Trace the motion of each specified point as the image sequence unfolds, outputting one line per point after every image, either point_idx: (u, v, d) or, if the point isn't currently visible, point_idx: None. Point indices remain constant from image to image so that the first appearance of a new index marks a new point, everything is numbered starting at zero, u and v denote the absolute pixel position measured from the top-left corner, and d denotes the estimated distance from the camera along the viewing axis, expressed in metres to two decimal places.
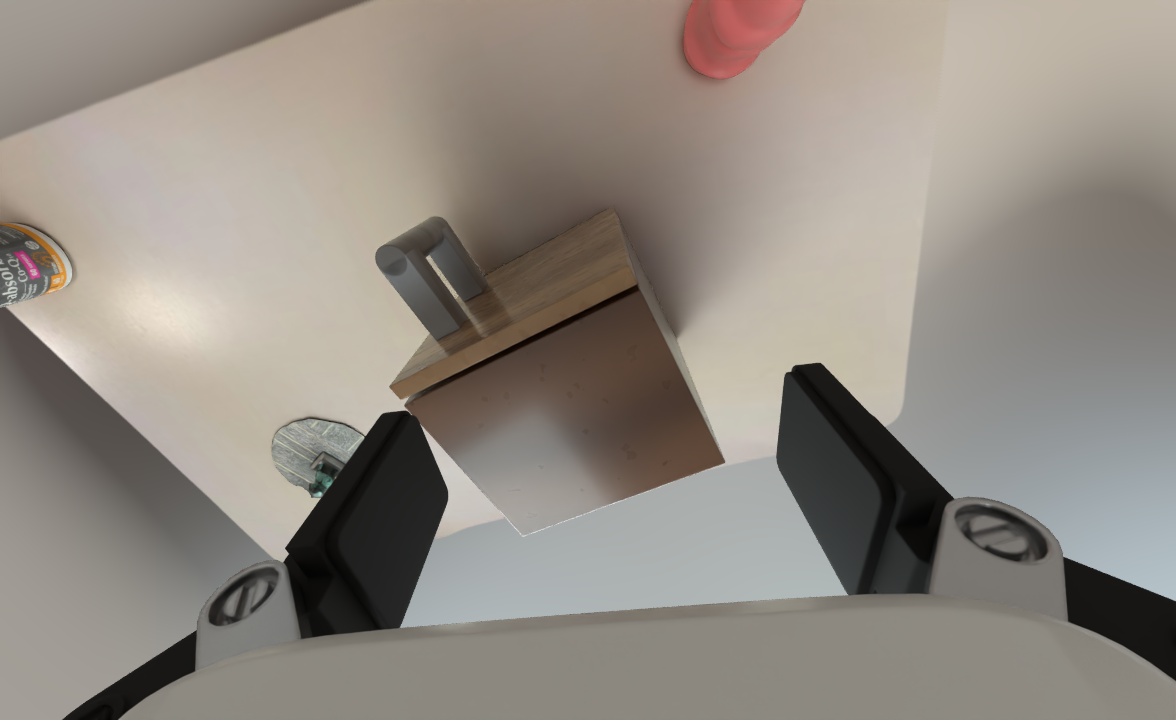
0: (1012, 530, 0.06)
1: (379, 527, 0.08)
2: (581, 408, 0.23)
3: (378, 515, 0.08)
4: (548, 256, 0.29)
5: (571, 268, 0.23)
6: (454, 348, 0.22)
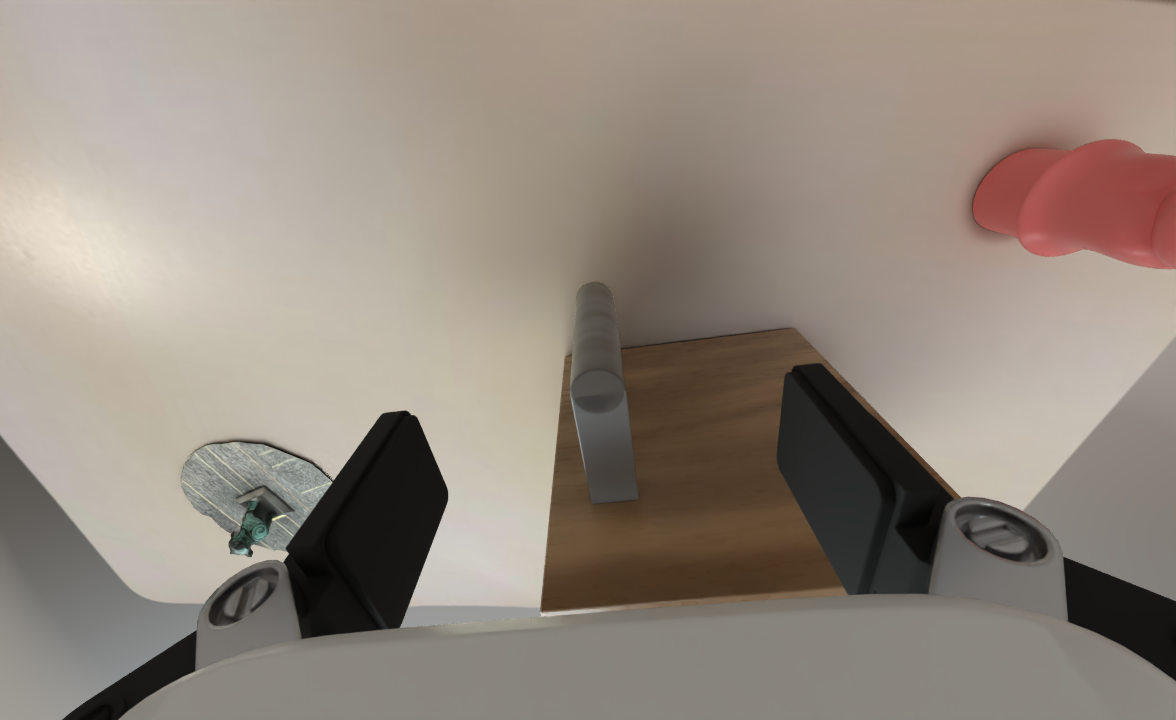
0: (1012, 530, 0.06)
1: (379, 527, 0.08)
2: None
3: (378, 515, 0.08)
4: (733, 388, 0.21)
5: None
6: (669, 576, 0.13)
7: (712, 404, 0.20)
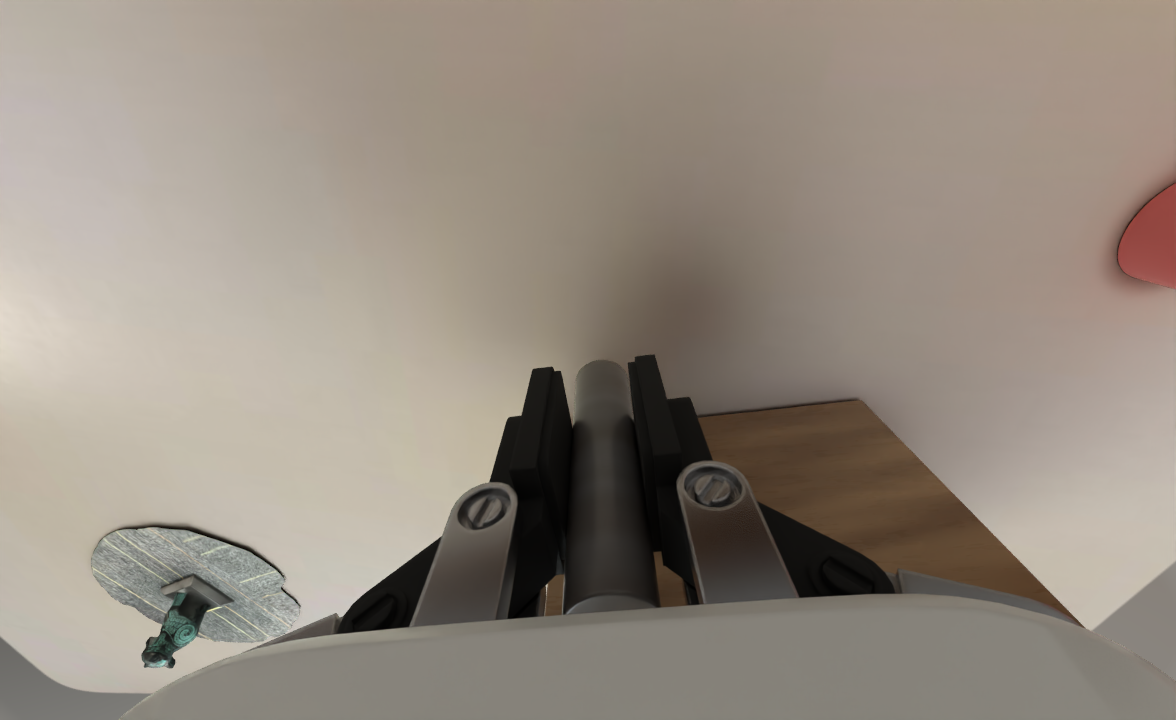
0: (718, 479, 0.07)
1: (559, 463, 0.09)
2: None
3: (558, 452, 0.09)
4: (794, 503, 0.15)
5: None
6: None
7: None
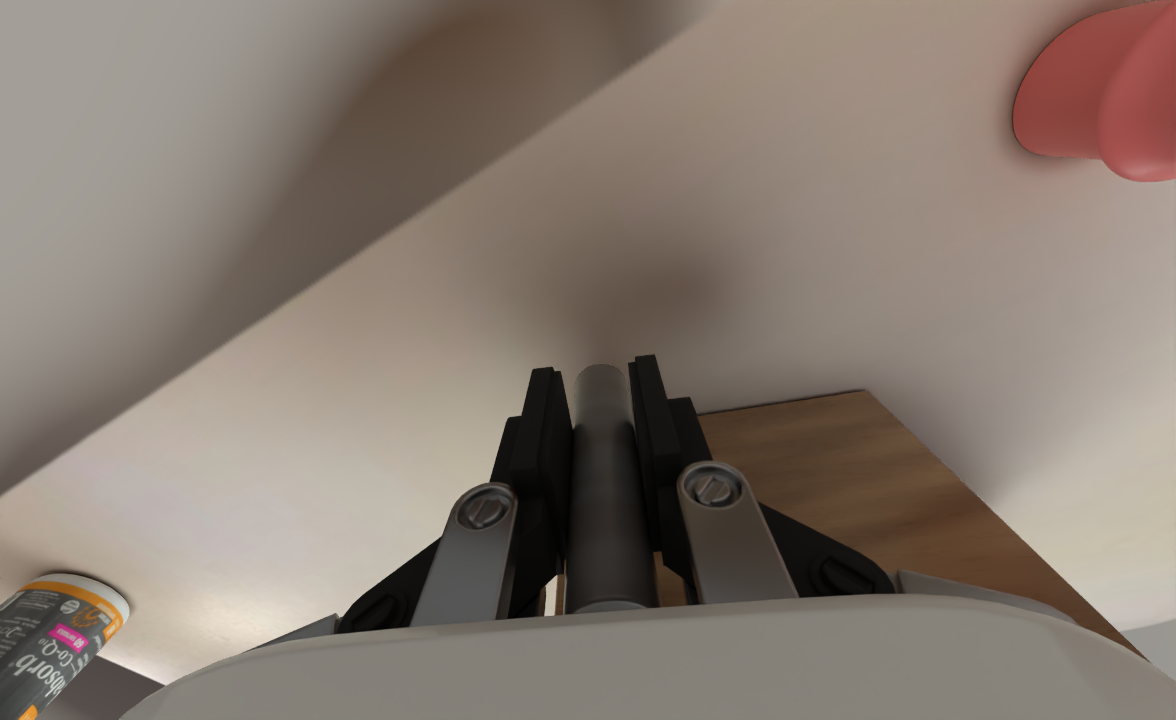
0: (718, 479, 0.07)
1: (559, 463, 0.09)
2: None
3: (557, 452, 0.09)
4: (801, 498, 0.15)
5: None
6: None
7: None
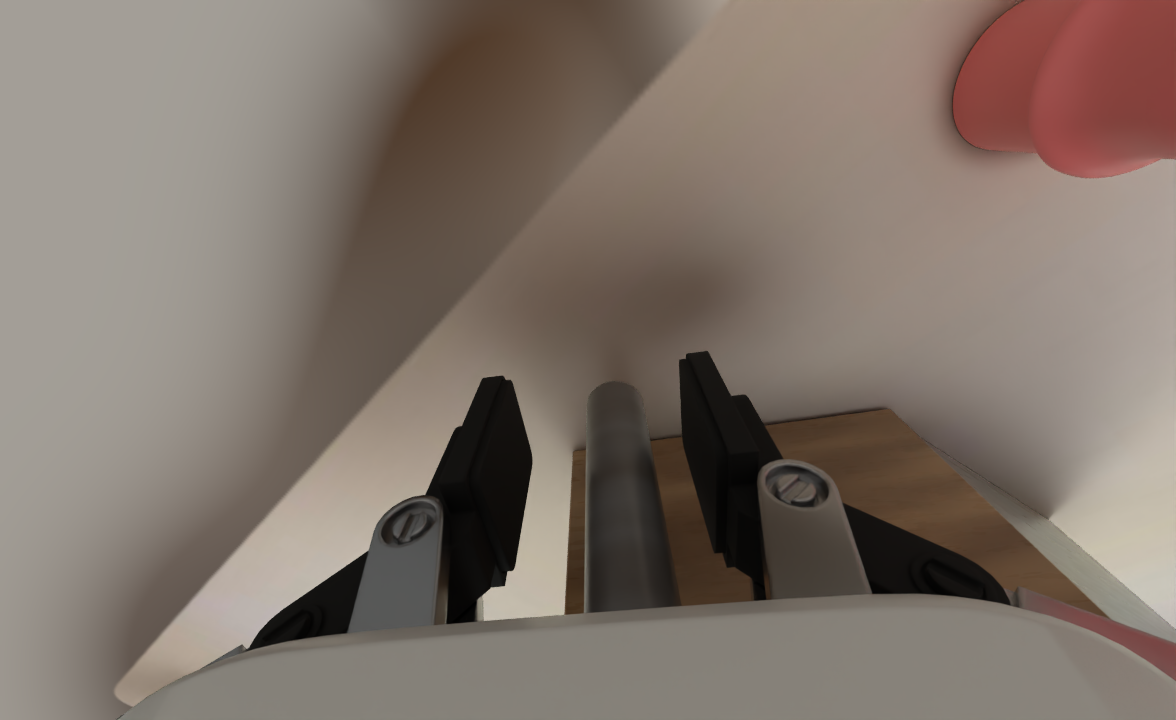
0: (803, 480, 0.07)
1: (499, 474, 0.09)
2: None
3: (498, 464, 0.09)
4: None
5: None
6: None
7: None
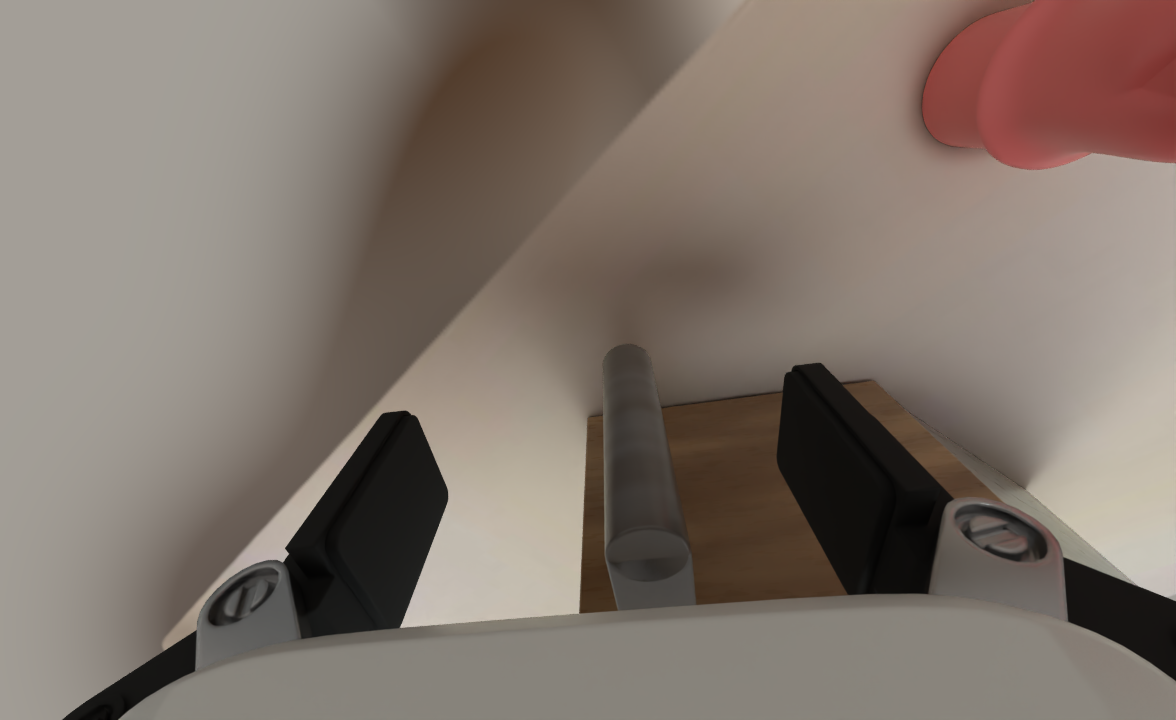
0: (1012, 530, 0.06)
1: (379, 527, 0.08)
2: None
3: (378, 515, 0.08)
4: None
5: None
6: None
7: (785, 501, 0.15)
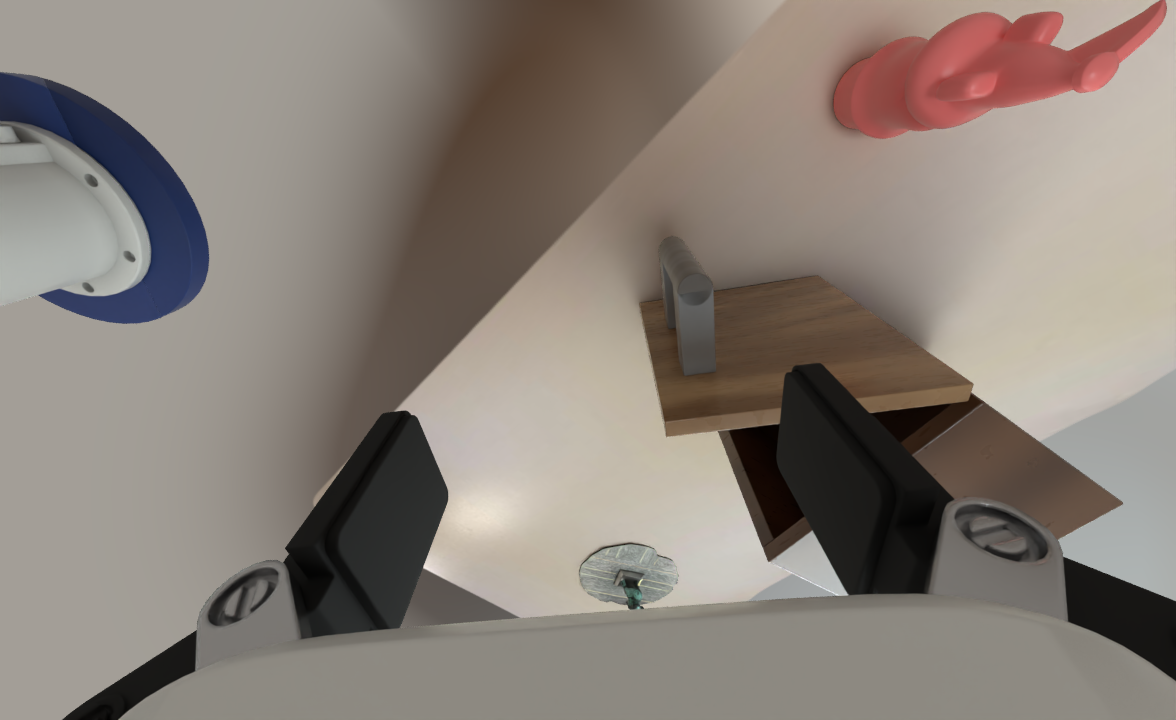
0: (1012, 530, 0.06)
1: (379, 527, 0.08)
2: None
3: (378, 515, 0.08)
4: (774, 312, 0.29)
5: (851, 349, 0.23)
6: (744, 402, 0.21)
7: (759, 322, 0.28)
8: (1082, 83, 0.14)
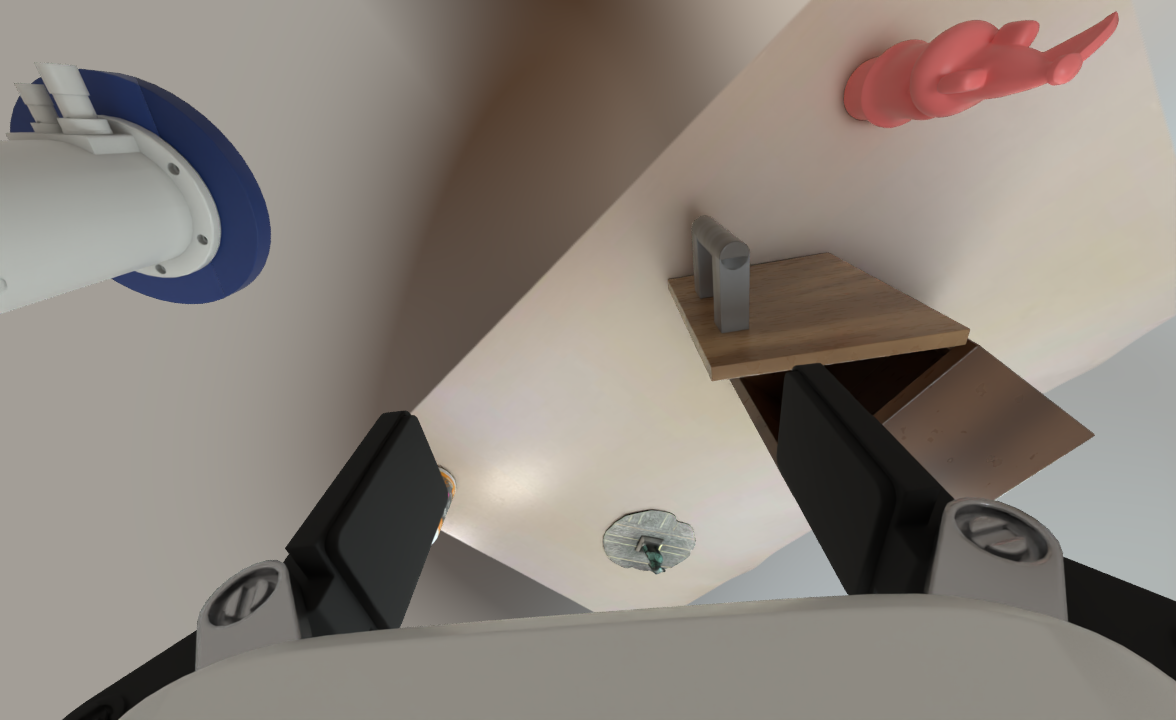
0: (1012, 530, 0.06)
1: (379, 527, 0.08)
2: (943, 445, 0.27)
3: (378, 515, 0.08)
4: (793, 282, 0.32)
5: (865, 308, 0.27)
6: (777, 350, 0.25)
7: (781, 290, 0.31)
8: (1054, 77, 0.18)
